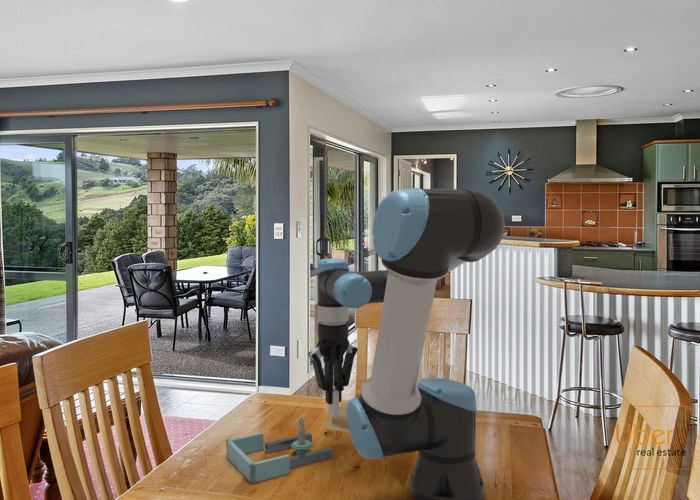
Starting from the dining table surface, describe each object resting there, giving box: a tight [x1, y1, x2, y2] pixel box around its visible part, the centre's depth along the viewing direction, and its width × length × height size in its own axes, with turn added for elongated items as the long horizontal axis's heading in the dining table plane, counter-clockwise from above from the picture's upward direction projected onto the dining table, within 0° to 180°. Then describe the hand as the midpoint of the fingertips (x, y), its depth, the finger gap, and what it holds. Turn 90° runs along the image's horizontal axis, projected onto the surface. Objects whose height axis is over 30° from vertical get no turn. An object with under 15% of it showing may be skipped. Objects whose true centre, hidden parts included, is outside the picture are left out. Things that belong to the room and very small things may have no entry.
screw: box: [291, 416, 313, 456], centre depth 140 cm, size 9×5×5 cm
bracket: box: [225, 432, 290, 484], centre depth 134 cm, size 16×9×4 cm, turn 31°
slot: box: [264, 432, 333, 469], centre depth 140 cm, size 12×12×2 cm
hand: (333, 415), depth 145 cm, fingers closed
